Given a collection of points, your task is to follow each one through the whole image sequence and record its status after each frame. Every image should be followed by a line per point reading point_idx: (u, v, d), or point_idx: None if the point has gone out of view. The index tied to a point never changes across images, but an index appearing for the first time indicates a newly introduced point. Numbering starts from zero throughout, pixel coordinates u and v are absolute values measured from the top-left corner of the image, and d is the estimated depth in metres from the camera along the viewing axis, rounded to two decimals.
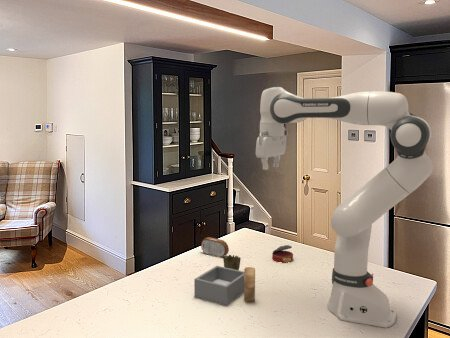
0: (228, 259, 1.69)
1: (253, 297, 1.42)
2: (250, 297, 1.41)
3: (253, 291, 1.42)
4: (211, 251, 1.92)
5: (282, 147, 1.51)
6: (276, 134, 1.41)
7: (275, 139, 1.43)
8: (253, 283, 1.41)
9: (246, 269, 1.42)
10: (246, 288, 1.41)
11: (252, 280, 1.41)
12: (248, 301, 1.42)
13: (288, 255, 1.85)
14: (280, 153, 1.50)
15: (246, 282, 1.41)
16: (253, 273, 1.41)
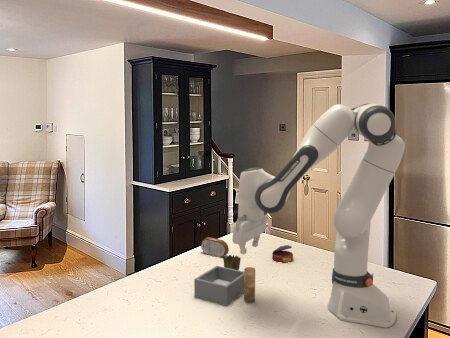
0: (228, 259, 1.69)
1: (253, 297, 1.42)
2: (250, 297, 1.41)
3: (253, 291, 1.42)
4: (211, 251, 1.92)
5: (262, 225, 1.46)
6: (254, 218, 1.36)
7: (254, 222, 1.37)
8: (253, 283, 1.41)
9: (246, 269, 1.42)
10: (246, 288, 1.41)
11: (252, 280, 1.41)
12: (248, 301, 1.42)
13: (288, 255, 1.85)
14: (259, 233, 1.44)
15: (246, 282, 1.41)
16: (253, 273, 1.41)
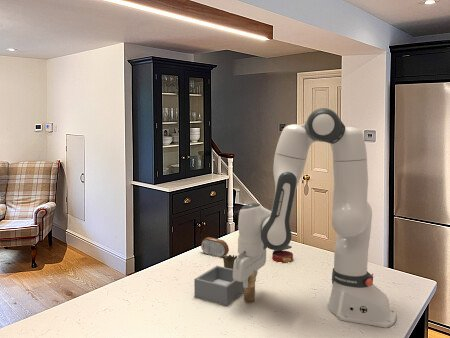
0: (228, 259, 1.69)
1: (253, 297, 1.42)
2: (250, 297, 1.41)
3: (253, 291, 1.42)
4: (211, 251, 1.92)
5: (262, 259, 1.47)
6: (254, 254, 1.37)
7: (253, 258, 1.39)
8: (253, 283, 1.41)
9: None
10: (246, 288, 1.41)
11: (252, 280, 1.41)
12: (248, 301, 1.42)
13: (288, 255, 1.85)
14: (259, 267, 1.45)
15: None
16: (253, 273, 1.41)
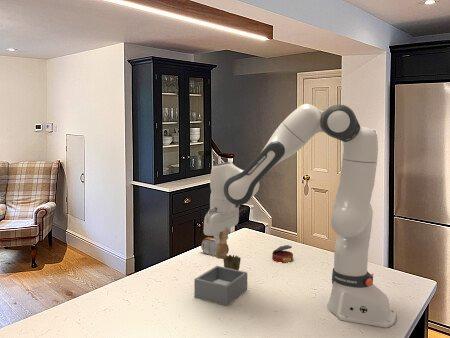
0: (228, 259, 1.69)
1: (224, 253, 1.46)
2: (222, 253, 1.46)
3: (224, 247, 1.46)
4: (211, 251, 1.92)
5: (234, 218, 1.51)
6: (225, 210, 1.42)
7: (224, 214, 1.43)
8: (224, 239, 1.46)
9: None
10: (218, 244, 1.46)
11: (224, 237, 1.45)
12: (220, 257, 1.46)
13: (288, 255, 1.85)
14: (232, 225, 1.50)
15: None
16: (225, 230, 1.45)
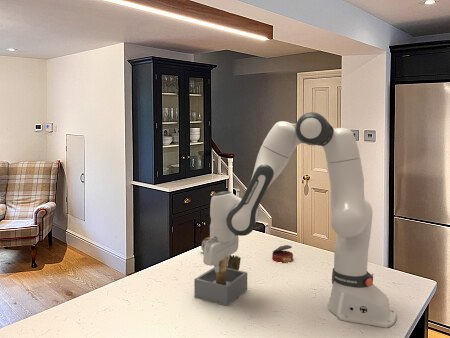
0: None
1: (224, 281, 1.48)
2: (221, 281, 1.47)
3: (224, 275, 1.47)
4: None
5: (234, 245, 1.53)
6: (225, 239, 1.43)
7: (224, 243, 1.44)
8: (224, 267, 1.47)
9: None
10: (217, 272, 1.47)
11: (223, 265, 1.47)
12: None
13: (288, 255, 1.85)
14: (231, 252, 1.51)
15: None
16: (224, 258, 1.47)
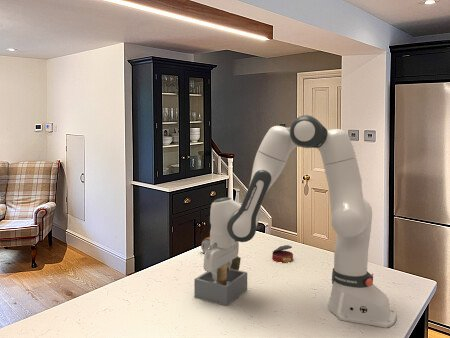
0: None
1: None
2: None
3: (225, 284, 1.48)
4: None
5: (234, 251, 1.53)
6: (225, 246, 1.43)
7: (224, 250, 1.45)
8: (225, 276, 1.47)
9: None
10: (218, 281, 1.48)
11: (224, 274, 1.47)
12: None
13: (288, 255, 1.85)
14: (231, 258, 1.51)
15: None
16: (225, 267, 1.47)
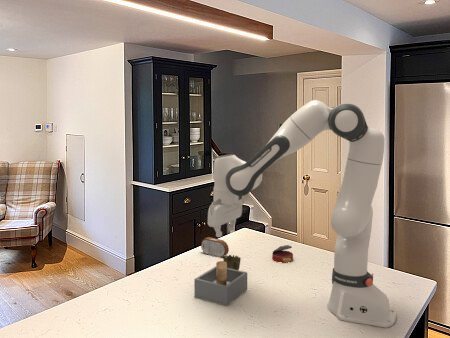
0: (228, 259, 1.69)
1: None
2: None
3: (225, 284, 1.48)
4: (211, 251, 1.92)
5: (238, 210, 1.52)
6: (228, 202, 1.42)
7: (228, 206, 1.44)
8: (225, 276, 1.47)
9: (218, 263, 1.48)
10: (218, 281, 1.48)
11: (224, 274, 1.47)
12: None
13: (288, 255, 1.85)
14: (235, 217, 1.50)
15: (218, 275, 1.47)
16: (225, 267, 1.47)
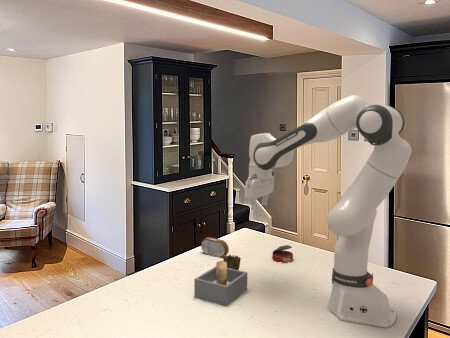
0: (228, 259, 1.69)
1: None
2: None
3: (225, 284, 1.48)
4: (211, 251, 1.92)
5: (270, 186, 1.62)
6: (264, 177, 1.52)
7: (263, 181, 1.54)
8: (225, 276, 1.47)
9: (218, 263, 1.48)
10: (218, 281, 1.48)
11: (224, 274, 1.47)
12: None
13: (288, 255, 1.85)
14: (268, 192, 1.60)
15: (218, 275, 1.47)
16: (225, 267, 1.47)
